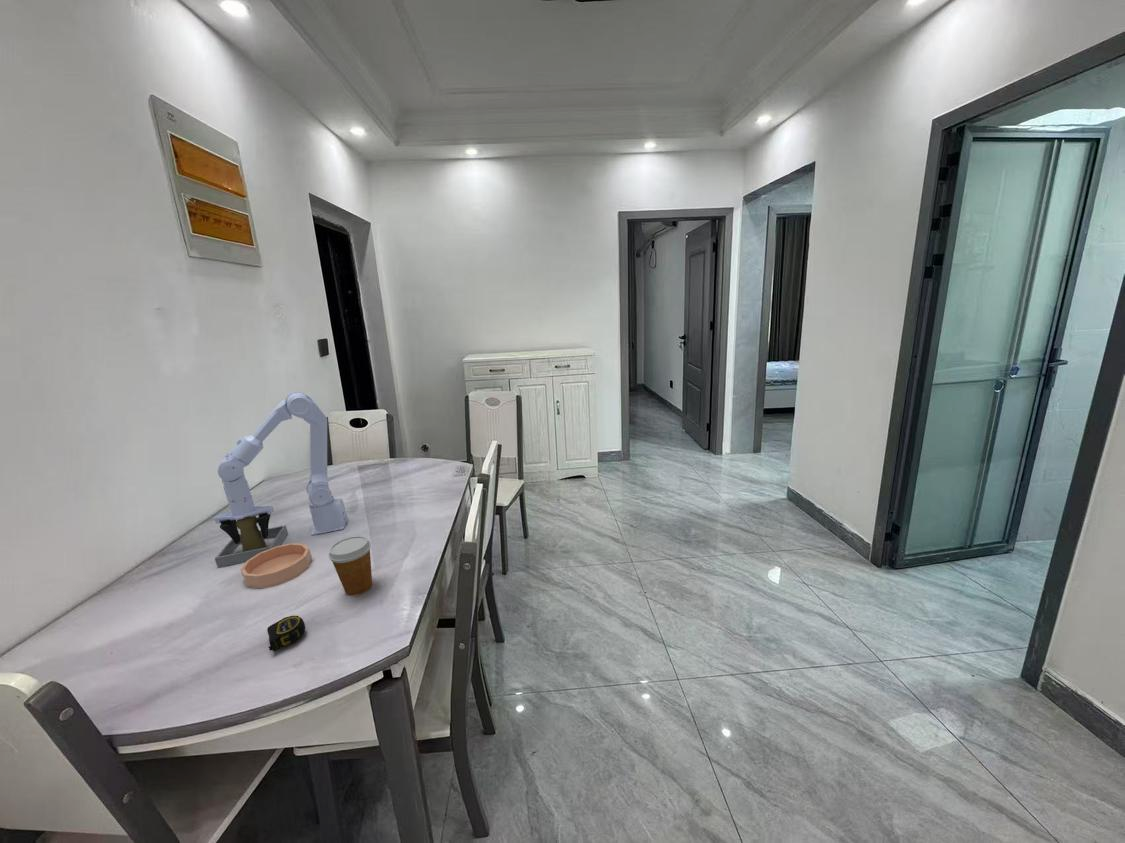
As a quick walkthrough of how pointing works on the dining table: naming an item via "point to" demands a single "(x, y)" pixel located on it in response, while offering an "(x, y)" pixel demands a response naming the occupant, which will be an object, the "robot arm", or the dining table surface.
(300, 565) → the bowl
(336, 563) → the disposable coffee cup
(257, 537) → the cork
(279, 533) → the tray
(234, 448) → the robot arm
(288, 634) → the tape measure
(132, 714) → the dining table surface
